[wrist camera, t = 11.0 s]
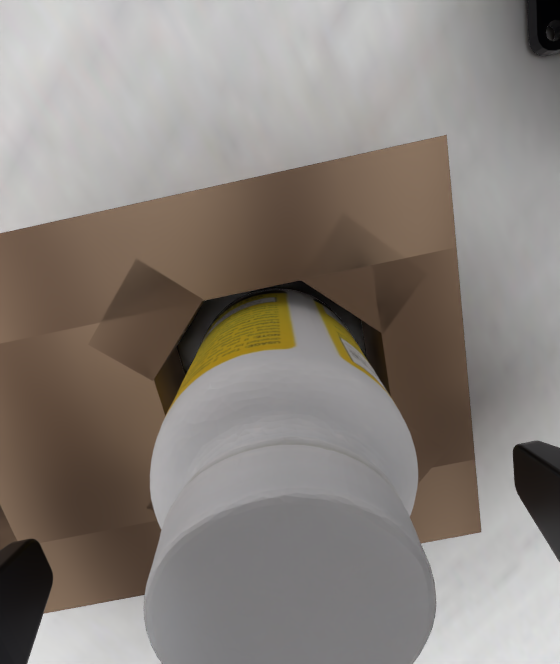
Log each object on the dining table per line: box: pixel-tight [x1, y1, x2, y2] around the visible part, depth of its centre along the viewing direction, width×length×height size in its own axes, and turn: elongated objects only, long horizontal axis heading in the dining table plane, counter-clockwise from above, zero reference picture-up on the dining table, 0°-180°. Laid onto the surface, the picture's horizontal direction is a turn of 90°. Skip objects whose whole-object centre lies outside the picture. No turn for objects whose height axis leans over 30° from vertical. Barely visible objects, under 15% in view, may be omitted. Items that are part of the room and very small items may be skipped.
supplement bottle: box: [144, 289, 436, 664], centre depth 10 cm, size 5×5×10 cm
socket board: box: [0, 135, 481, 614], centre depth 14 cm, size 21×12×3 cm, turn 102°
